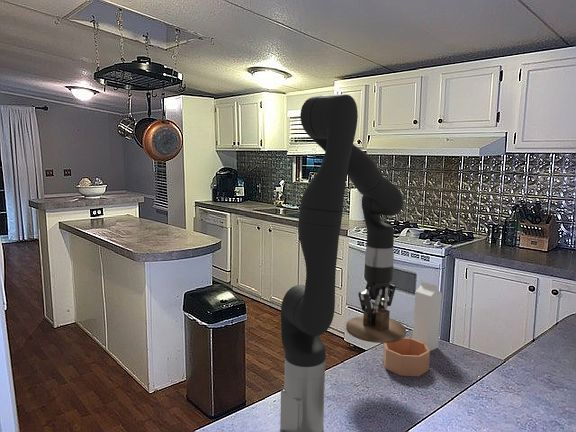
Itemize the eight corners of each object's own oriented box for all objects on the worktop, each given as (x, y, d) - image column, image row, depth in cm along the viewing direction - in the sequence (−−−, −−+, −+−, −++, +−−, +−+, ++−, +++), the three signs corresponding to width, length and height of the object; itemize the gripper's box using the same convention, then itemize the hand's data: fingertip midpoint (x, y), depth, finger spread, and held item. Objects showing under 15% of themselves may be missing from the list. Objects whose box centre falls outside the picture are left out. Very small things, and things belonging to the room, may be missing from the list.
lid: (381, 348, 106) (382, 325, 105) (334, 328, 118) (334, 307, 117) (417, 332, 116) (419, 310, 115) (370, 314, 128) (371, 295, 127)
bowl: (411, 380, 120) (412, 360, 120) (375, 363, 130) (376, 345, 129) (435, 366, 129) (436, 347, 128) (399, 351, 138) (400, 334, 137)
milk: (427, 352, 138) (431, 287, 134) (411, 345, 143) (415, 282, 139) (438, 347, 141) (442, 283, 138) (422, 341, 146) (426, 279, 143)
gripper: (373, 269, 107) (370, 335, 109) (406, 261, 116) (402, 321, 118) (350, 263, 112) (348, 326, 115) (383, 256, 122) (380, 314, 124)
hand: (376, 323), depth 117 cm, fingers closed on lid, 3 cm apart
